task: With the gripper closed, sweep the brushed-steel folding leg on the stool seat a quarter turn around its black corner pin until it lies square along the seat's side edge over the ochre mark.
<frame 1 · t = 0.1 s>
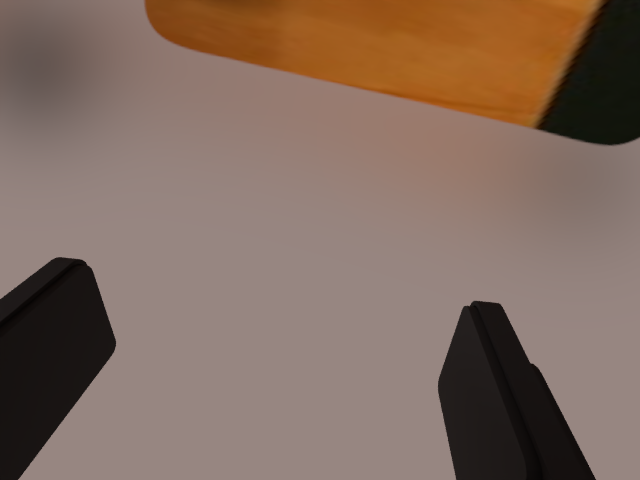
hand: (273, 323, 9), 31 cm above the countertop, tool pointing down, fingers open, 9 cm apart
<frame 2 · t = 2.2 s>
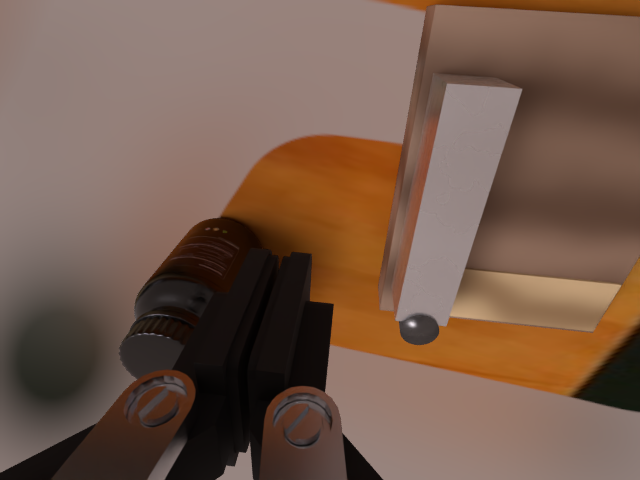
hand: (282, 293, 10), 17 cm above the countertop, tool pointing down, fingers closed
stool leg: (437, 224, 21), point 6 cm above the countertop, hinge at 0.0°
supplement bottle: (227, 249, 31), on the countertop
stool seat: (513, 184, 25), on the countertop
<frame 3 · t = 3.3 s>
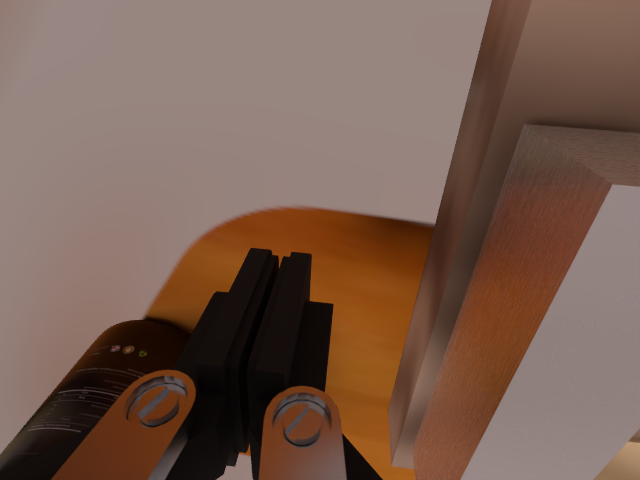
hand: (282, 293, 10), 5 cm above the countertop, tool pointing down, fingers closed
stool leg: (509, 405, 11), point 6 cm above the countertop, hinge at 0.0°
supplement bottle: (162, 356, 21), on the countertop
stool seat: (621, 289, 15), on the countertop
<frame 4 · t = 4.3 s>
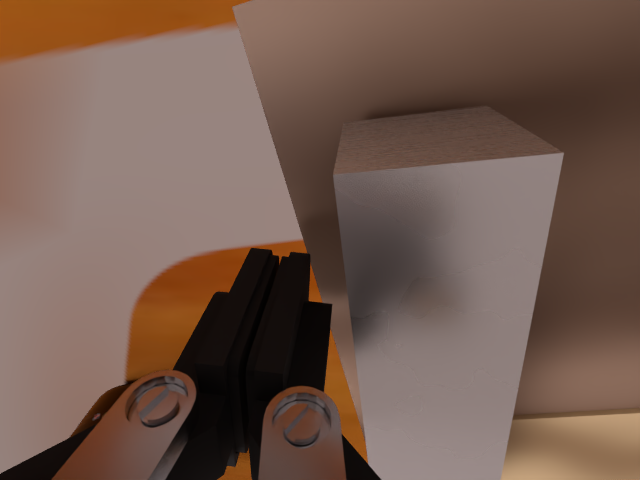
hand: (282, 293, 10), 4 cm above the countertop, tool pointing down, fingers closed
stool leg: (423, 405, 11), point 6 cm above the countertop, hinge at 6.3°, touching gripper
supplement bottle: (157, 413, 22), on the countertop
stool seat: (542, 252, 14), on the countertop
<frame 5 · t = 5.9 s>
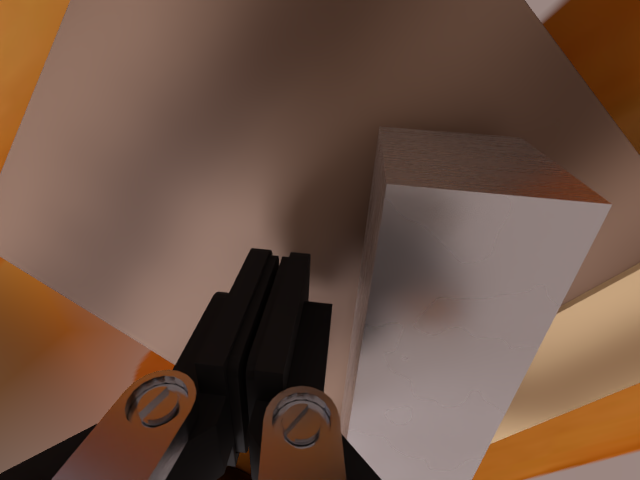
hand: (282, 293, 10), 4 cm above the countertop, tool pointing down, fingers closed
stool leg: (399, 412, 11), point 6 cm above the countertop, hinge at 51.2°, touching gripper
stool seat: (346, 235, 14), on the countertop
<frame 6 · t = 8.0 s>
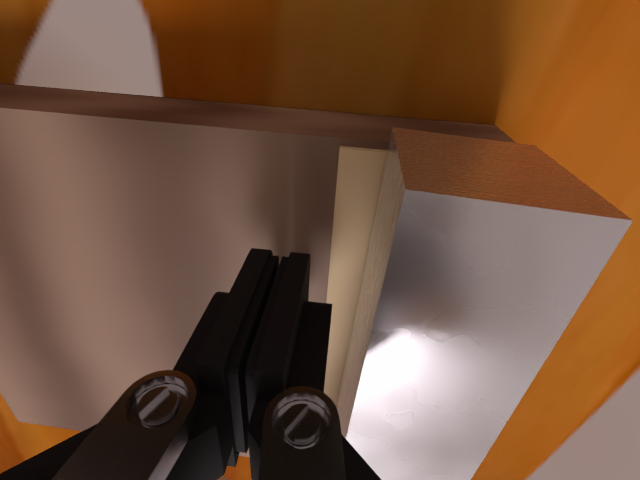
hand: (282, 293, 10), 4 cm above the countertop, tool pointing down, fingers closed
stool leg: (396, 414, 11), point 5 cm above the countertop, hinge at 92.3°, touching gripper
stool seat: (213, 286, 16), on the countertop
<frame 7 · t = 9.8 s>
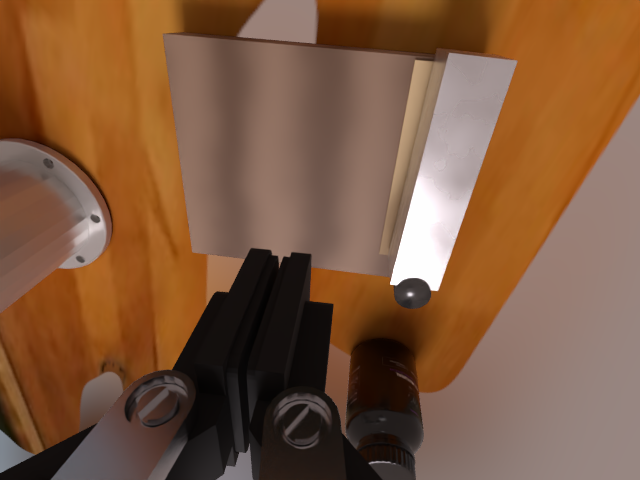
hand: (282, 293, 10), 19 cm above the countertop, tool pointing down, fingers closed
stool leg: (433, 193, 23), point 5 cm above the countertop, hinge at 91.6°
supplement bottle: (381, 357, 39), on the countertop
stool seat: (321, 161, 28), on the countertop
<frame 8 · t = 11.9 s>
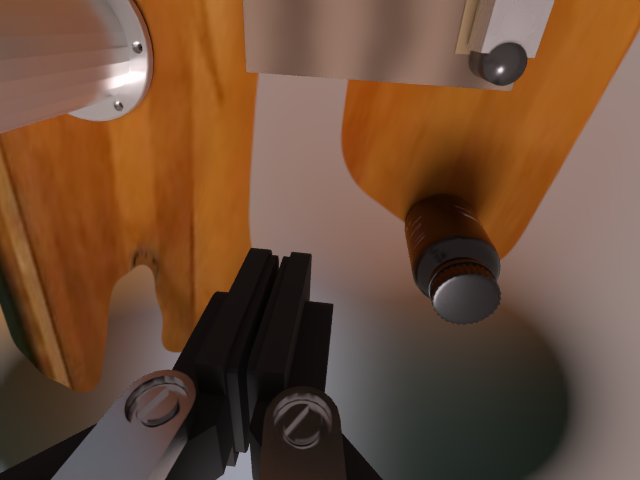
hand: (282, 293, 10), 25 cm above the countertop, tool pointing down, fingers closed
supplement bottle: (437, 222, 37), on the countertop
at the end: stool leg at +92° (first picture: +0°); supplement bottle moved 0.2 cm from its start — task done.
